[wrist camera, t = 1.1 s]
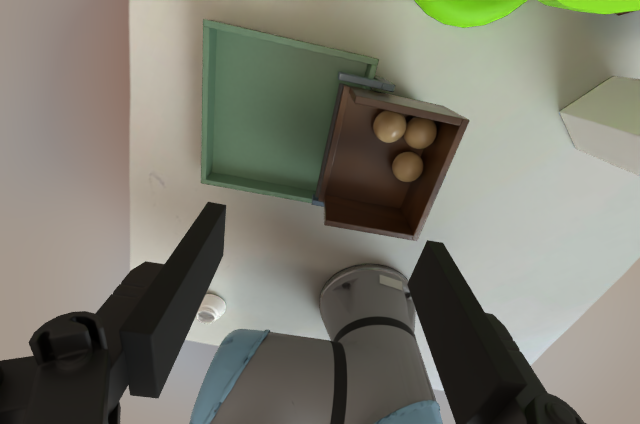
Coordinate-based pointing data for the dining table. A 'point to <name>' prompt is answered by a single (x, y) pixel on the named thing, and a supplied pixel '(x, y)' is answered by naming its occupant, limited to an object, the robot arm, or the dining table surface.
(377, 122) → the wooden ball
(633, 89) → the milk
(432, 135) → the wooden ball
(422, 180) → the brown wooden box
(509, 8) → the wineglass
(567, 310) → the dining table surface
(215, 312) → the lidless jar
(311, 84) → the tray
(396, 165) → the wooden ball
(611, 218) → the dining table surface
